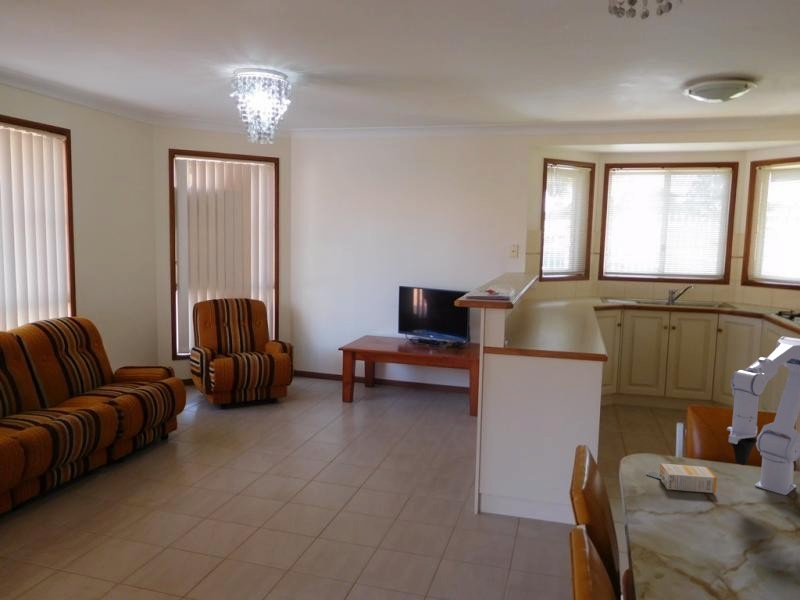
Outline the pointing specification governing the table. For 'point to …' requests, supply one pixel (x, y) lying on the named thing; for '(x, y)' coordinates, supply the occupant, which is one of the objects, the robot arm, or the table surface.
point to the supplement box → (687, 478)
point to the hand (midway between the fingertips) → (741, 463)
